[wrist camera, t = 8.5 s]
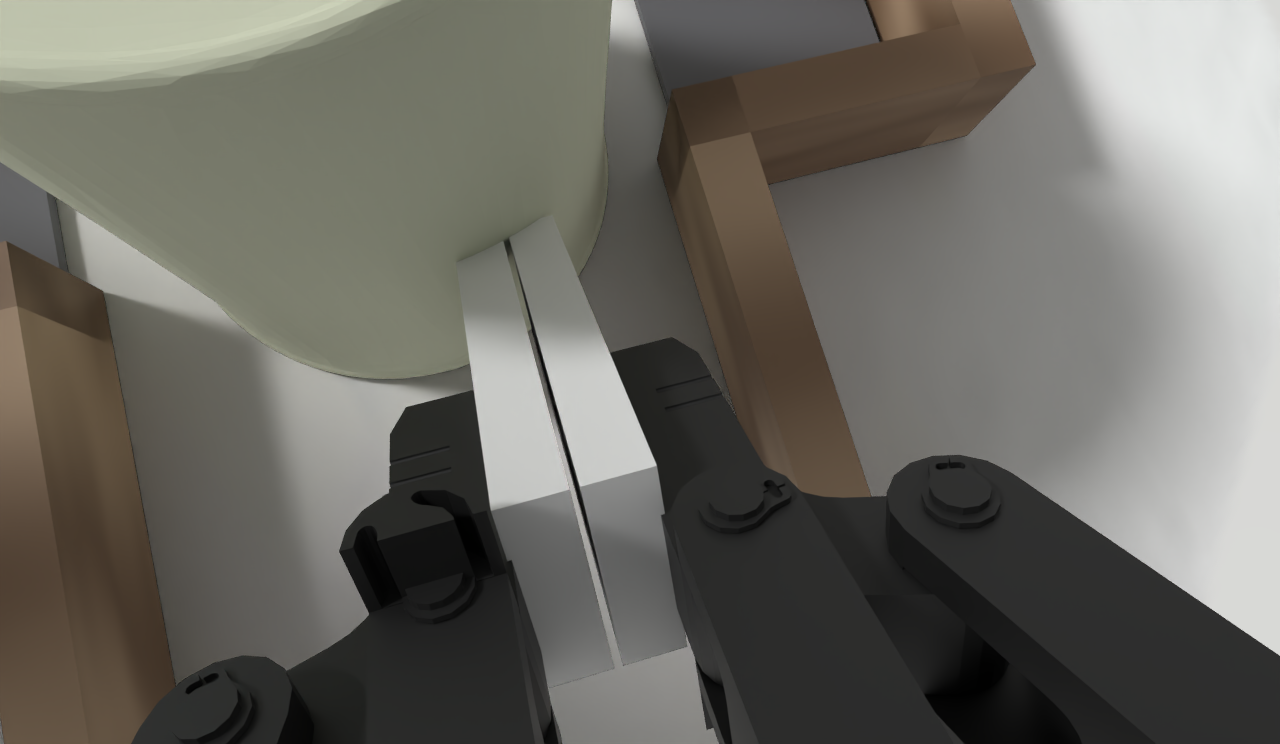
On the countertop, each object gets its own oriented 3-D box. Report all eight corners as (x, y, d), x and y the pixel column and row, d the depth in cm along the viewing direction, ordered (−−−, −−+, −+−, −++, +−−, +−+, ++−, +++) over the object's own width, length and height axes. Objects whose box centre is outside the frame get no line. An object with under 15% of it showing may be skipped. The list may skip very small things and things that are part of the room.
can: (686, 128, 19) (865, -530, 7) (445, 466, 17) (160, 315, 5) (355, -86, 19) (18, -1033, 8) (84, 222, 18) (-904, -412, 6)
